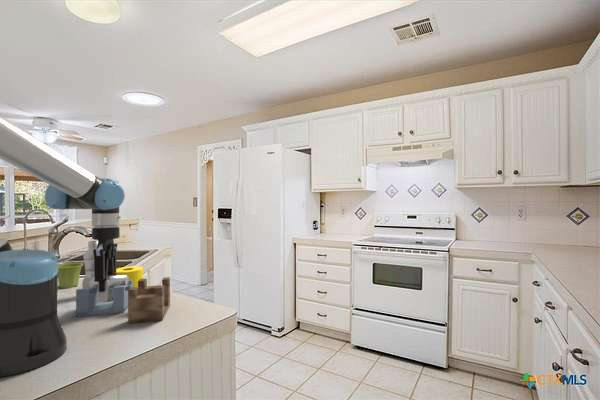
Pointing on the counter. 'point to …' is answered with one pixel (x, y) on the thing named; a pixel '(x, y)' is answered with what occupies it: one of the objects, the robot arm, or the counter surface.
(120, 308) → the blue notched cradle
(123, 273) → the yellow hollow cylinder
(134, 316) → the bearing stand
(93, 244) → the metal bottle
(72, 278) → the plant pot
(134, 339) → the counter surface
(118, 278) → the steel axle
